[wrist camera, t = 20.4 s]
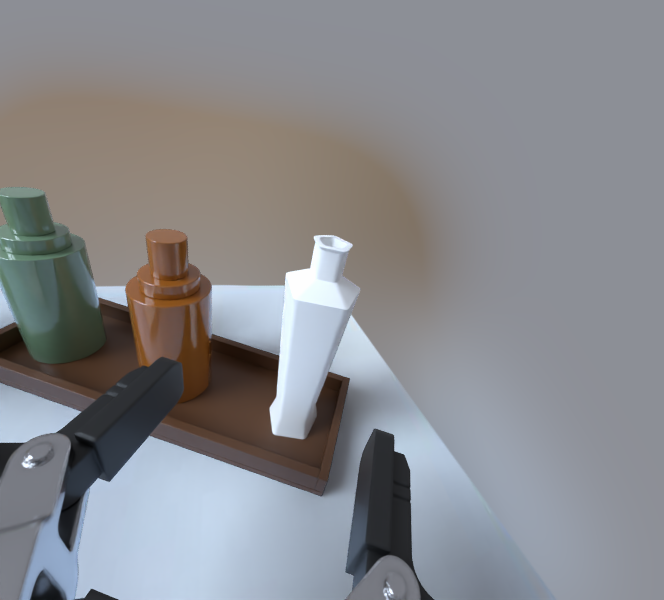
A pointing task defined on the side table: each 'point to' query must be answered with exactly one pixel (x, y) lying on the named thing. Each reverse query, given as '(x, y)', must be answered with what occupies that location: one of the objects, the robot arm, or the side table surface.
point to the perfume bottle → (311, 334)
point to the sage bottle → (47, 281)
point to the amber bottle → (172, 310)
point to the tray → (196, 401)
